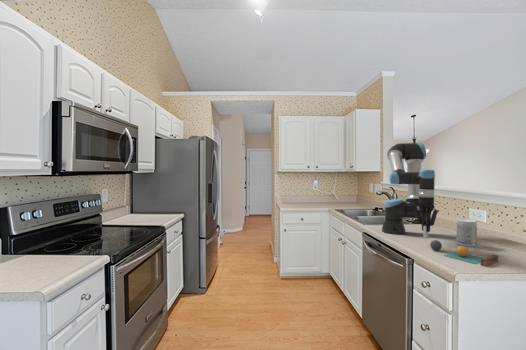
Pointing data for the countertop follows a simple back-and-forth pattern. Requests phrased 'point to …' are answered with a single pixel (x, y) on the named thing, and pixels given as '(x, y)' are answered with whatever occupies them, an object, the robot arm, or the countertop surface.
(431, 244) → the gray ball
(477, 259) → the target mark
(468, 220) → the supplement tub
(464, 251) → the object ball
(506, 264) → the countertop surface
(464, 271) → the countertop surface
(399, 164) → the robot arm
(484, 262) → the wall
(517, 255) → the countertop surface
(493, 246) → the countertop surface
